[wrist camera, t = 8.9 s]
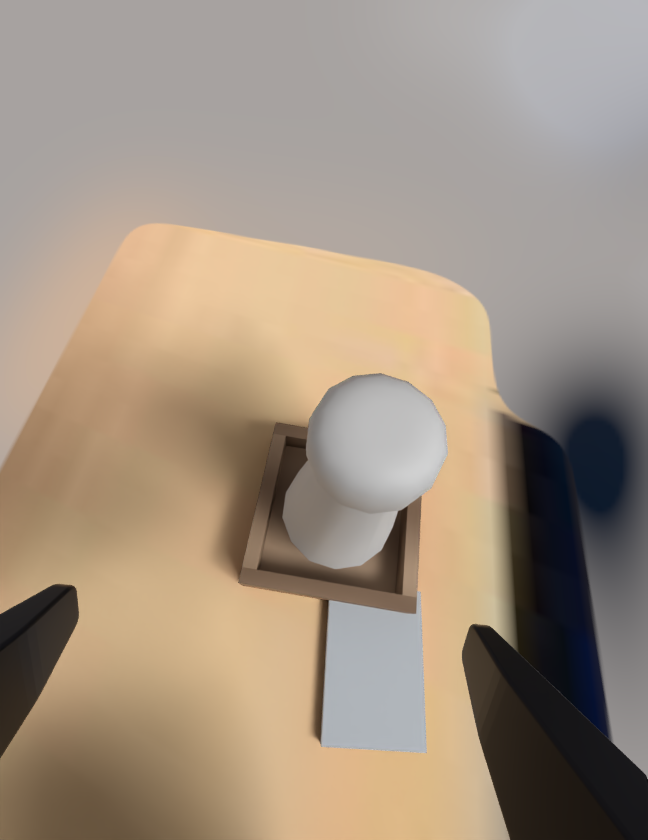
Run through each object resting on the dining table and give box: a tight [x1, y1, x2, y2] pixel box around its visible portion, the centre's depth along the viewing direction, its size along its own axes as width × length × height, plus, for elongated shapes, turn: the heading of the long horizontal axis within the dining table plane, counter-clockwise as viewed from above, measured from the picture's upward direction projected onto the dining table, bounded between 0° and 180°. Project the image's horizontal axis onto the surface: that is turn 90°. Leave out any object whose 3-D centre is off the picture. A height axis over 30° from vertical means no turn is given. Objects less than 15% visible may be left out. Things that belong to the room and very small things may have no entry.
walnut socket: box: [238, 423, 422, 614], centre depth 23 cm, size 9×9×2 cm
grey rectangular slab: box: [320, 591, 427, 753], centre depth 20 cm, size 7×5×1 cm
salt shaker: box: [282, 373, 448, 569], centre depth 17 cm, size 6×6×13 cm
